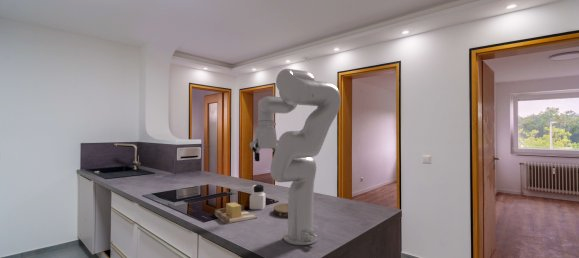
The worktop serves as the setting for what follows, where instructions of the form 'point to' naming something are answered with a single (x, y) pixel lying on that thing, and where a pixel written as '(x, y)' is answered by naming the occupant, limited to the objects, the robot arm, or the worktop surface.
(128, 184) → the worktop surface
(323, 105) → the robot arm
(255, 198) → the medicine bottle
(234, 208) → the mustard block
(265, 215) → the worktop surface
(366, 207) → the worktop surface
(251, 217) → the tray
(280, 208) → the tan flat round disc
